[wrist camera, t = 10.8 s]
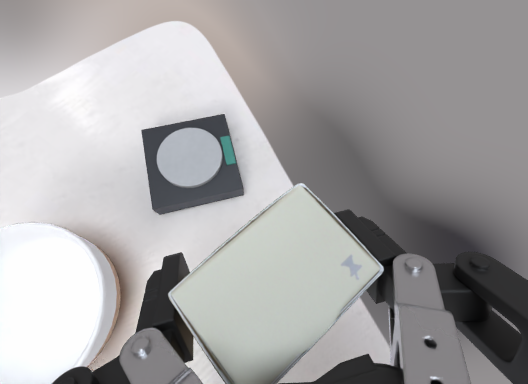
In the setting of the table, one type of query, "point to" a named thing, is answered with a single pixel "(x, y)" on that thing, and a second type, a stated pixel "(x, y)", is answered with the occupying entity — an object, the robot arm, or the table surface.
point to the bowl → (52, 302)
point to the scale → (190, 164)
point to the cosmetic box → (274, 288)
